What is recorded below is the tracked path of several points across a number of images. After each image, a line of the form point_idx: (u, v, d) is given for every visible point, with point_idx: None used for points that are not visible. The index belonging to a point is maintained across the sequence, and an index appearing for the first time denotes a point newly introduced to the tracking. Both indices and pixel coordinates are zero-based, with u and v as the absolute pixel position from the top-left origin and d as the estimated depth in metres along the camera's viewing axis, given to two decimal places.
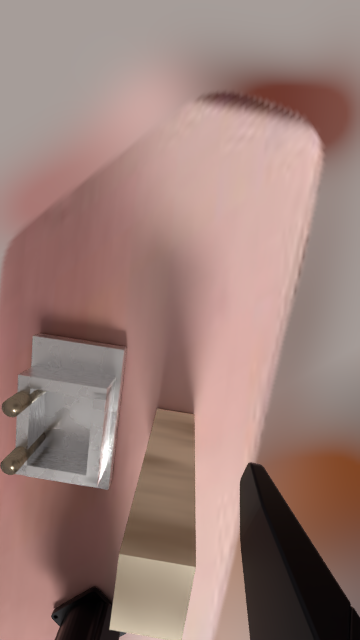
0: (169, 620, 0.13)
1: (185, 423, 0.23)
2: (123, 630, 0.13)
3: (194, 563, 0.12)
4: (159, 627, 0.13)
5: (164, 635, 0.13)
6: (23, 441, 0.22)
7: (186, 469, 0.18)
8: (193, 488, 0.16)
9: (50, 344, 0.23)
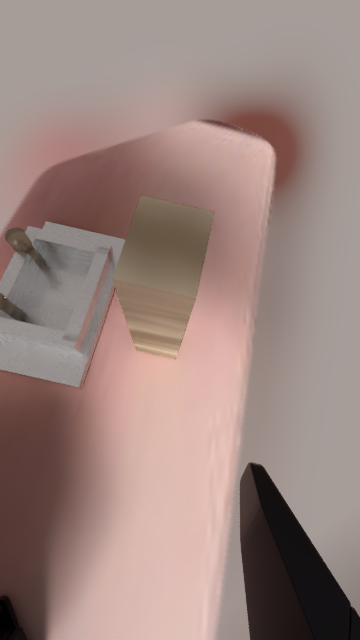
0: (184, 268, 0.11)
1: None
2: (129, 280, 0.11)
3: (212, 213, 0.13)
4: (172, 277, 0.11)
5: (176, 294, 0.11)
6: (5, 288, 0.20)
7: None
8: None
9: (60, 229, 0.25)
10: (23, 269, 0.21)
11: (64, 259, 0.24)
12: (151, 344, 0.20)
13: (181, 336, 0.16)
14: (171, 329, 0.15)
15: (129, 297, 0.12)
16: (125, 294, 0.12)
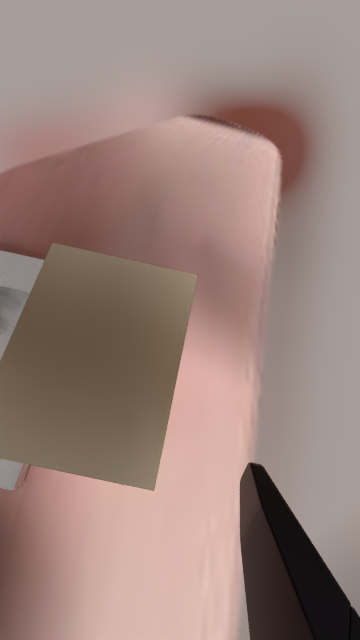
0: (131, 412, 0.05)
1: None
2: (0, 453, 0.05)
3: None
4: (103, 437, 0.05)
5: (110, 479, 0.05)
6: None
7: None
8: None
9: (2, 257, 0.19)
10: None
11: (5, 299, 0.18)
12: None
13: None
14: None
15: None
16: None
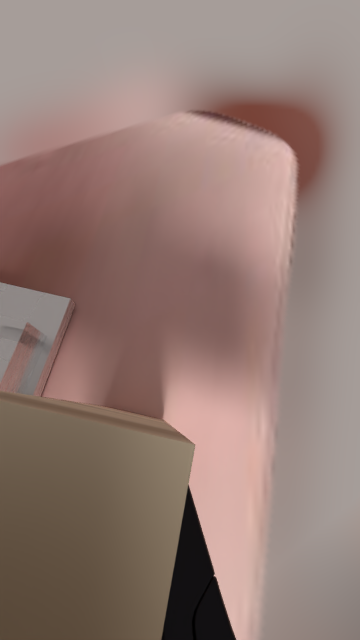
0: None
1: None
2: None
3: (188, 442, 0.03)
4: None
5: None
6: None
7: (150, 420, 0.08)
8: (168, 425, 0.07)
9: None
10: None
11: None
12: None
13: None
14: None
15: None
16: None
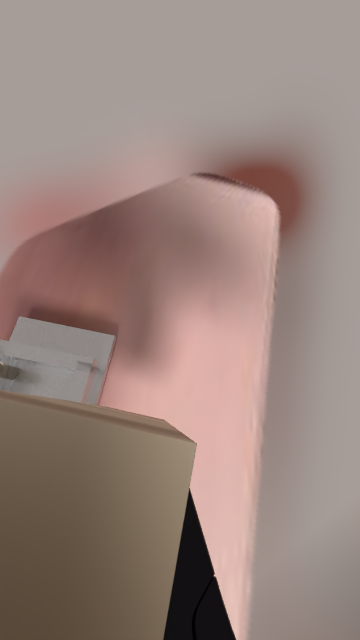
0: None
1: None
2: None
3: (189, 441, 0.03)
4: None
5: None
6: None
7: (151, 420, 0.08)
8: (168, 425, 0.07)
9: (36, 326, 0.22)
10: None
11: (40, 365, 0.21)
12: None
13: None
14: None
15: None
16: None
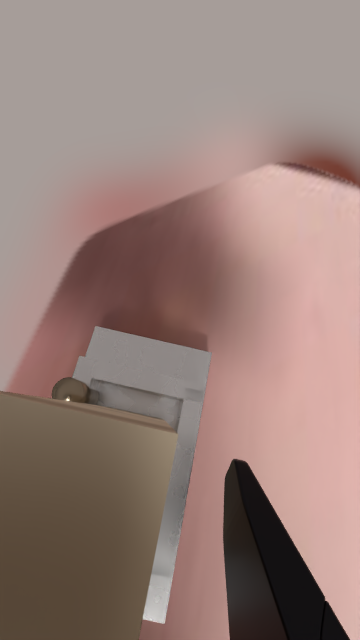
0: None
1: (150, 416, 0.15)
2: None
3: (174, 433, 0.04)
4: None
5: None
6: None
7: (151, 419, 0.10)
8: (165, 423, 0.08)
9: (116, 338, 0.18)
10: None
11: (125, 389, 0.17)
12: None
13: None
14: None
15: None
16: None
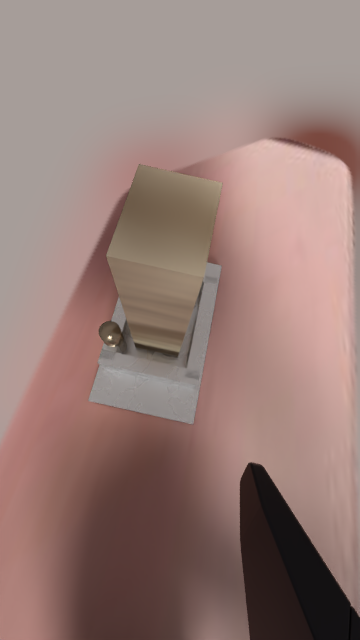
0: (189, 244, 0.10)
1: None
2: (125, 258, 0.09)
3: (220, 185, 0.11)
4: (176, 254, 0.10)
5: (180, 273, 0.09)
6: (119, 322, 0.20)
7: None
8: None
9: None
10: None
11: None
12: (151, 339, 0.18)
13: (185, 328, 0.15)
14: (173, 320, 0.14)
15: (126, 280, 0.11)
16: (122, 276, 0.11)
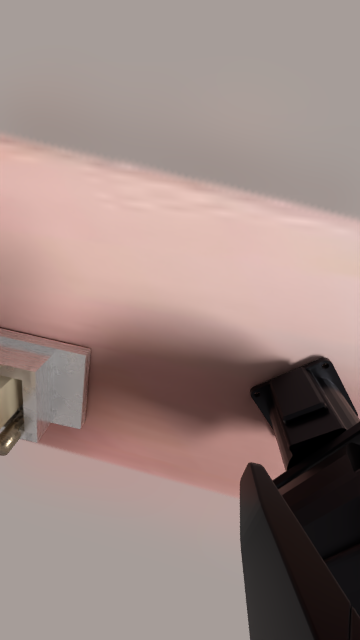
0: None
1: None
2: None
3: None
4: None
5: None
6: None
7: None
8: None
9: None
10: None
11: None
12: None
13: None
14: None
15: None
16: None
